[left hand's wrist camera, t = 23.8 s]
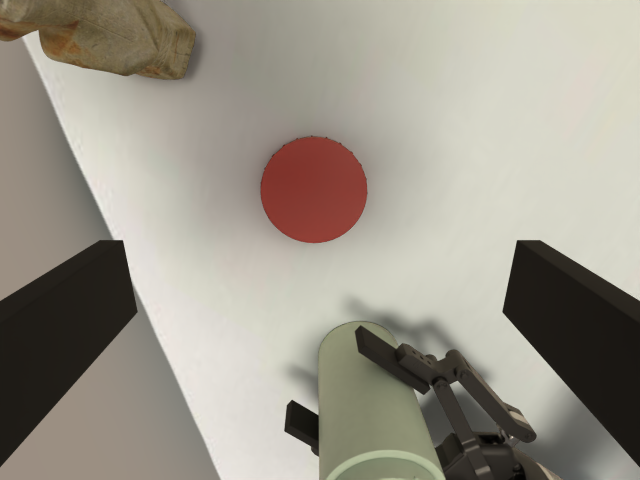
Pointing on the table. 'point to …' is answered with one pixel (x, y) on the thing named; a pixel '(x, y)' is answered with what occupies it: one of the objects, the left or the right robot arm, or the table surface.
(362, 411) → the jar
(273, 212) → the lid
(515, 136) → the table surface
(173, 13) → the sculpture
